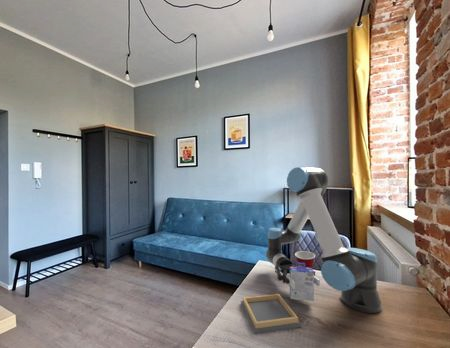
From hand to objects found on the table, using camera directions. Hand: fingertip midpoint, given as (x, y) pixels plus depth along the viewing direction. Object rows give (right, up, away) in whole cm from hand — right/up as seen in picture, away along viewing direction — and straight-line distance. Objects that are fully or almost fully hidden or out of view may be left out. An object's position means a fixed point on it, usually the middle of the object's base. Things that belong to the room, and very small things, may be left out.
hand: (306, 284), depth 92 cm
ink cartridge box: (-1, -8, +4) cm, 9 cm away
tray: (-17, -10, -3) cm, 20 cm away
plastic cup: (+10, -11, +31) cm, 34 cm away
